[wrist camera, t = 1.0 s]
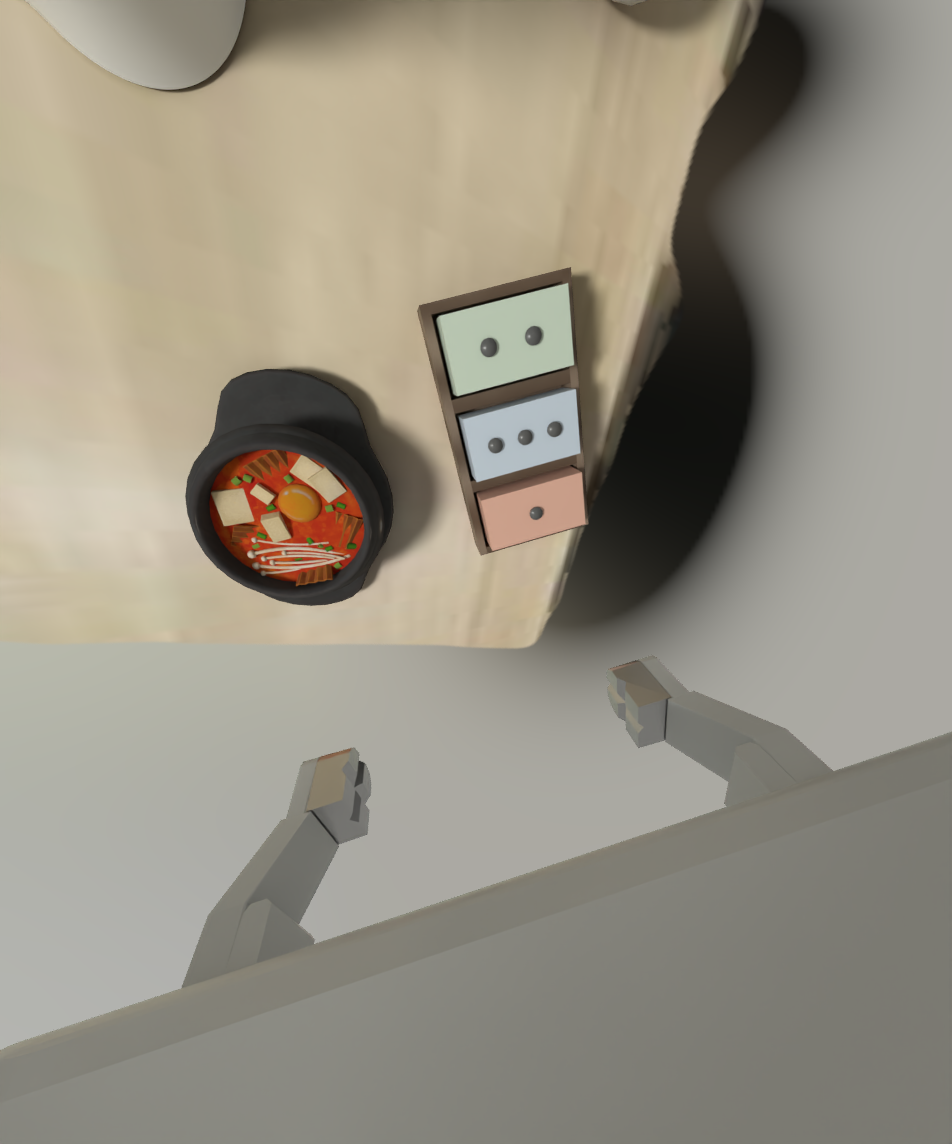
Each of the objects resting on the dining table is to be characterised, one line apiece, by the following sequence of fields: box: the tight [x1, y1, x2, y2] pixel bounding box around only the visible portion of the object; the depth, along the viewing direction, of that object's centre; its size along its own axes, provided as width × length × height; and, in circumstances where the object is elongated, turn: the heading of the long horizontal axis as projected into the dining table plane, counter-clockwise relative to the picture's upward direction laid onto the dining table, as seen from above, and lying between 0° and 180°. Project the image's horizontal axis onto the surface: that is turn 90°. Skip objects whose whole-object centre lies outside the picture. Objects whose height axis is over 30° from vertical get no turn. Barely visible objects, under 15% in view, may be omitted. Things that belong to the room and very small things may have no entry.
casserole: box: [185, 369, 393, 606], centre depth 36 cm, size 25×19×8 cm
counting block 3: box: [475, 465, 586, 551], centre depth 41 cm, size 6×11×4 cm, turn 103°
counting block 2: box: [458, 388, 580, 482], centre depth 37 cm, size 6×11×4 cm, turn 103°
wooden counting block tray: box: [417, 267, 588, 555], centre depth 38 cm, size 24×13×4 cm, turn 13°
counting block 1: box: [436, 283, 574, 396], centre depth 32 cm, size 6×11×4 cm, turn 103°
